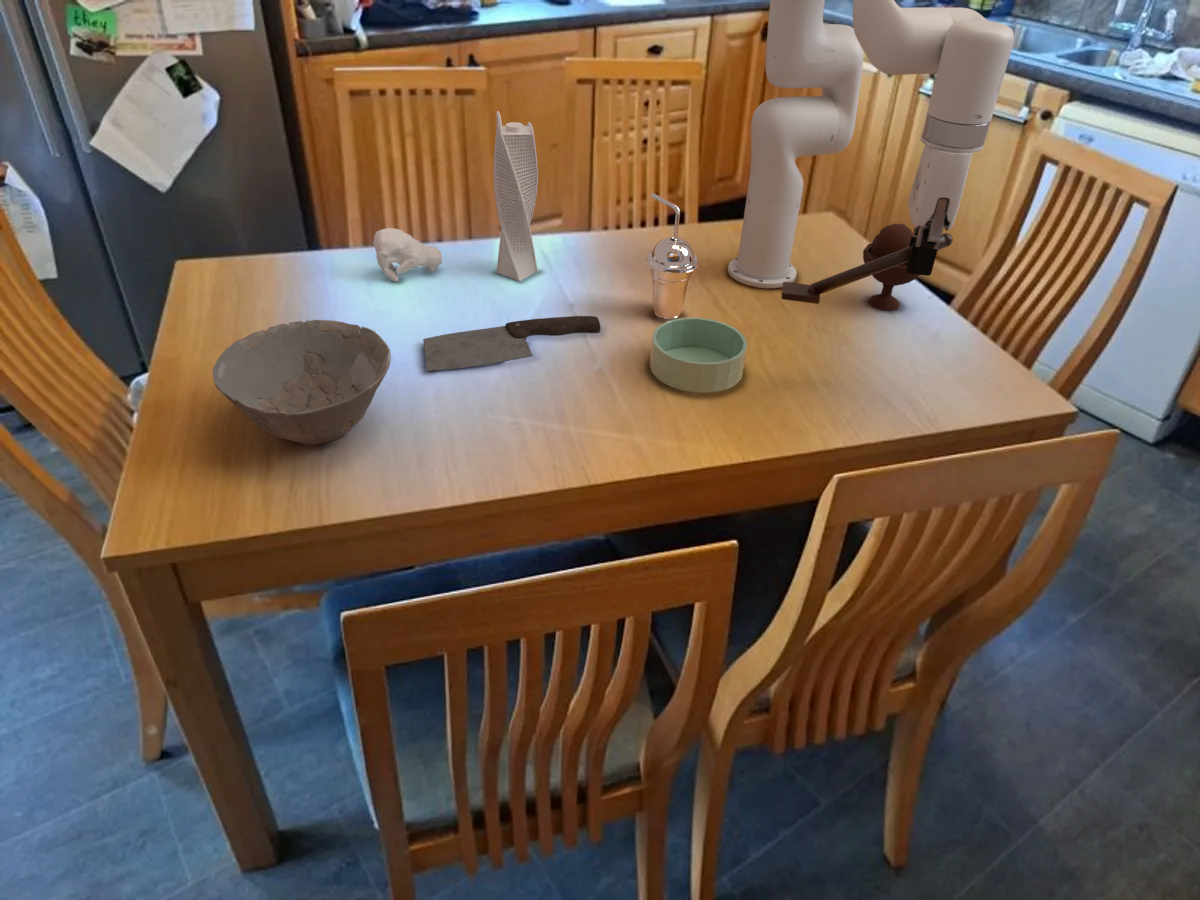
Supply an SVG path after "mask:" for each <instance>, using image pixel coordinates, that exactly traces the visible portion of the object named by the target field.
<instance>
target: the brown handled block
mask: <svg viewBox="0 0 1200 900" xmlns="http://www.w3.org/2000/svg"><path fill="white" fill-rule="evenodd" d="M953 241H954V238H953V236H952V235H951V234H950V233H947V232H945V233H942V235H941V239H940V242H939V246H938V251H940V250H942V249H945V248H947V247H950V246H951V245H952V244H953ZM912 246H913V245H912ZM912 246H910V247H907V248H904V249H902V250H899V251H897V252H894V253H891V254H889V255H886V256H884V257H881V258H878V259H876V260H873V261H870V262H868V263H865V264H864V263H862V264H860V265H857V266H855V267H853V268H850V269H847V270H844V271H842V272H839V273H836V274H834V275H832V276H828V277H826V278H823V279H821V280H818V281H816V282H813V283H810V284H807V283H806V284H805V283H797V282H793V283H790V282H783V287H781V298H780V299H781V300H784V301H792V302H799V303H809V304H816V305H819V304H820V299H821V295H822V294H825V293H828V292H831V291H833V290H836V289H838V288H841V287H845V286H848V285H850V284H851V283H855V282H857V281H860V280H863V279H866V278H868V277H870V276H872V275H873V274H876V273H879V272H881V271H884V270H887V269H889V268H892V267H895V266H897V265H900V264H903V263H905V262H908V261H909V257H910V253H911V249H912Z"/></svg>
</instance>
